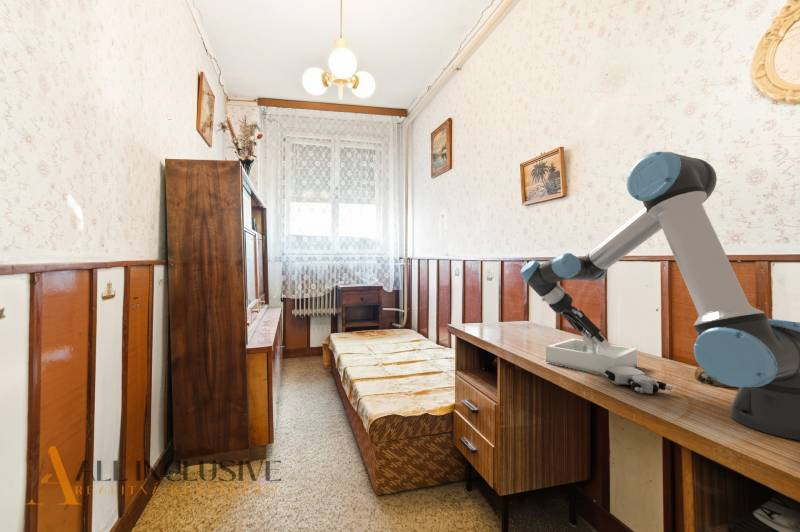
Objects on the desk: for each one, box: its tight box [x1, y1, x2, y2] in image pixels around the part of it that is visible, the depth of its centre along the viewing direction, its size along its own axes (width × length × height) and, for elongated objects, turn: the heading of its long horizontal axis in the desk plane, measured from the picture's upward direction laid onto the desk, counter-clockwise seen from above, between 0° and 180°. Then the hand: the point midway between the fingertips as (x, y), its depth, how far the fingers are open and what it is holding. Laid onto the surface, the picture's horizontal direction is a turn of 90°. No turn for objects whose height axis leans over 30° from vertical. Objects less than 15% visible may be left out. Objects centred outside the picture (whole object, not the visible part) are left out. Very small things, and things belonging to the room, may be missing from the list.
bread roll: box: [693, 366, 735, 388], centre depth 109 cm, size 10×10×8 cm
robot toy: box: [598, 366, 674, 394], centre depth 103 cm, size 12×4×15 cm
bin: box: [545, 338, 638, 376], centre depth 127 cm, size 22×22×6 cm
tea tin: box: [582, 326, 600, 355], centre depth 127 cm, size 5×5×12 cm
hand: (601, 345), depth 127 cm, fingers open, 6 cm apart
